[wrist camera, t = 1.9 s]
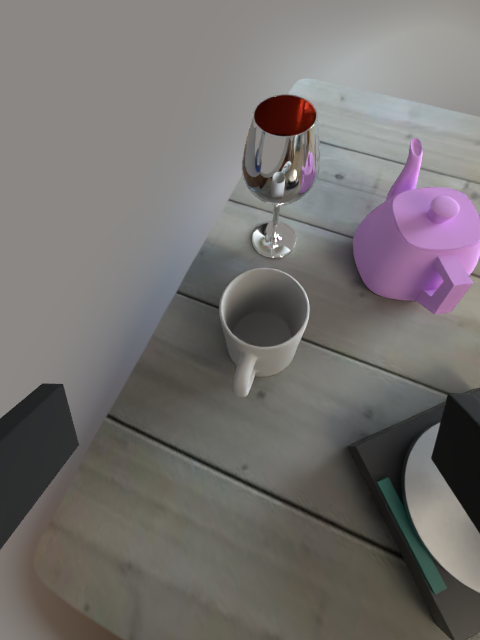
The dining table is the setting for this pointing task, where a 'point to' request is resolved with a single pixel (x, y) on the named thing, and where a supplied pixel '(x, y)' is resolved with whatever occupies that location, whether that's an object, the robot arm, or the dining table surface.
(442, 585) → the scale
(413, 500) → the scale pan
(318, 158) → the wineglass
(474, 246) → the teapot
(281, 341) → the mug
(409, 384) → the dining table surface
